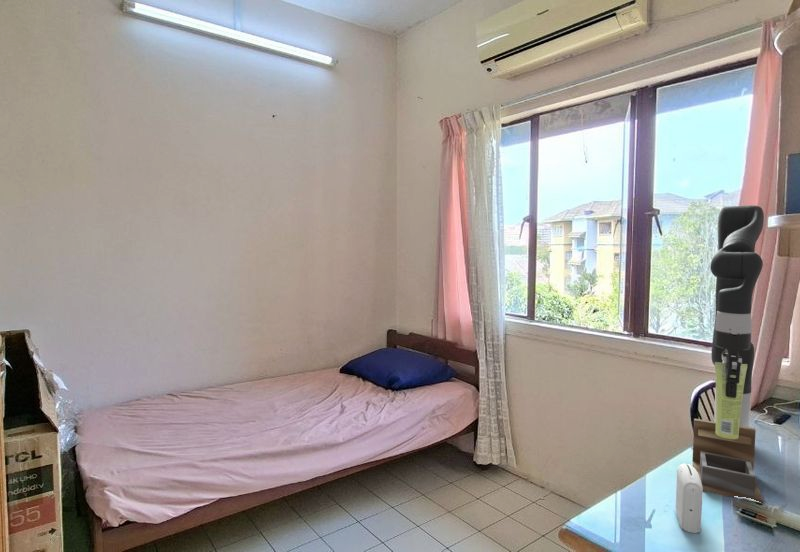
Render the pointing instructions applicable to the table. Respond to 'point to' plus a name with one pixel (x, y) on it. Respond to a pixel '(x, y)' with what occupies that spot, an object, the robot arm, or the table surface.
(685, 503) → the photo printer
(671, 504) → the table surface
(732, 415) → the tube
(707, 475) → the wall rack
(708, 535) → the table surface
